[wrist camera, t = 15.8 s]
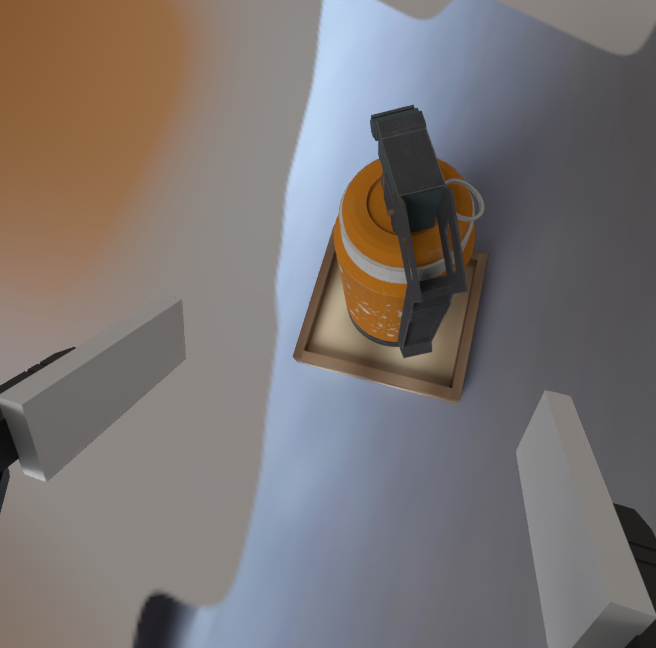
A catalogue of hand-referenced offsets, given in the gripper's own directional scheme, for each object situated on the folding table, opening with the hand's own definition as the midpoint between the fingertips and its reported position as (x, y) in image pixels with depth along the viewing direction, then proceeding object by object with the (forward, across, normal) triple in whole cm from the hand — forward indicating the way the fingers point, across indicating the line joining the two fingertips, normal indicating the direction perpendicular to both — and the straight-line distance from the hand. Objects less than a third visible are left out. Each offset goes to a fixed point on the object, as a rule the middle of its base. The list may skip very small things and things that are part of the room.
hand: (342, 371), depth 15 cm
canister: (+23, +1, -8) cm, 24 cm away
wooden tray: (+23, 0, -9) cm, 25 cm away
